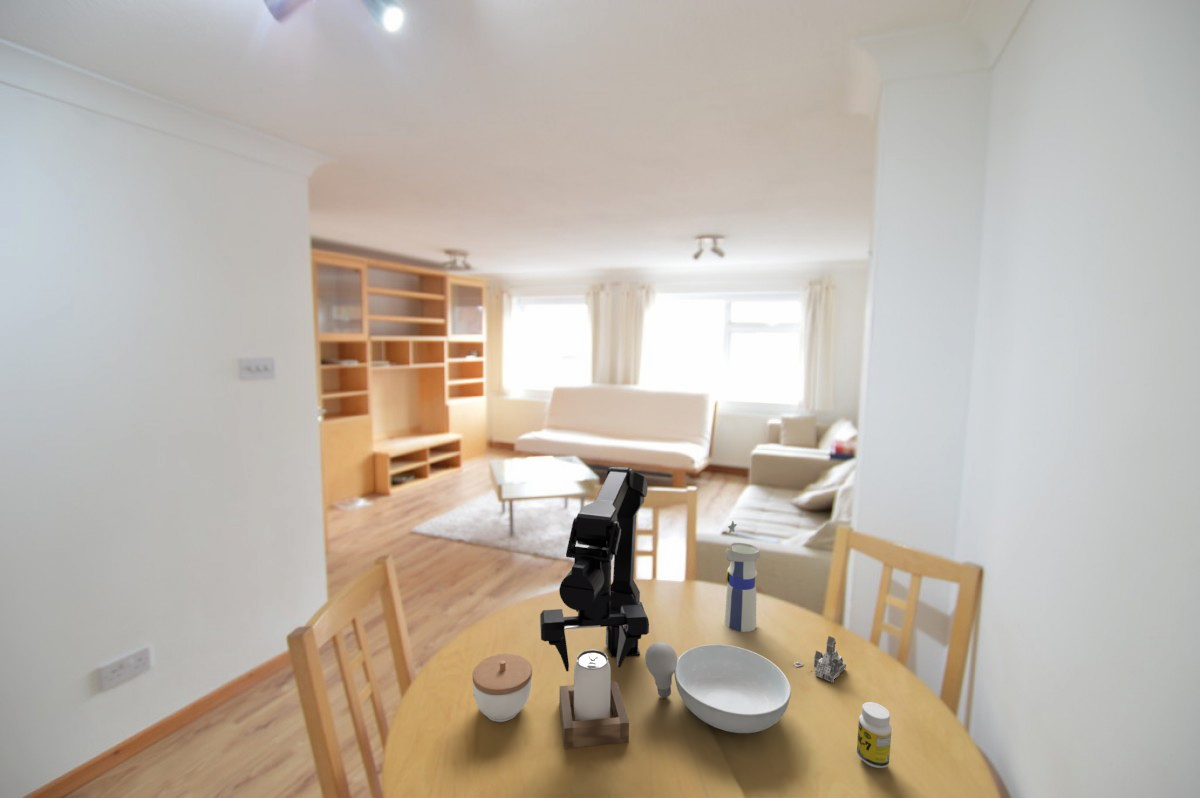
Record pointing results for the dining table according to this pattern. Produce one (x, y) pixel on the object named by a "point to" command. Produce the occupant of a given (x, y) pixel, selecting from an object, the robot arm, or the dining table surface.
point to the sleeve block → (593, 721)
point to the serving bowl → (732, 687)
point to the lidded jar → (502, 686)
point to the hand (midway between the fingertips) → (593, 668)
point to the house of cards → (828, 662)
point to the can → (591, 686)
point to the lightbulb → (661, 666)
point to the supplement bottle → (874, 735)
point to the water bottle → (741, 586)
